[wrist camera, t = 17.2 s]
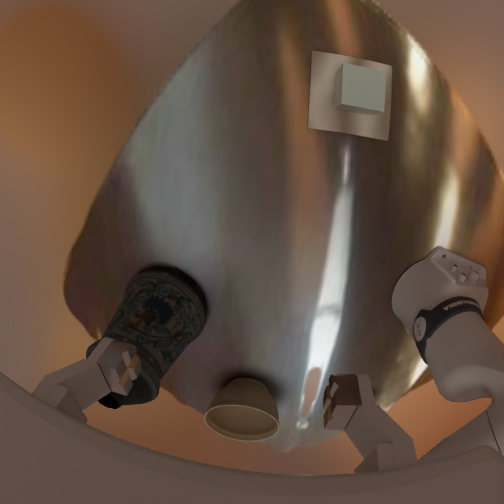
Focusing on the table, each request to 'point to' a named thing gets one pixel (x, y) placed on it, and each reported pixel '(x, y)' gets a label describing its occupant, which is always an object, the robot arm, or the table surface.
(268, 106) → the table surface
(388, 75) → the post stand
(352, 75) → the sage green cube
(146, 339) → the beer stein
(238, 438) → the planter bowl
